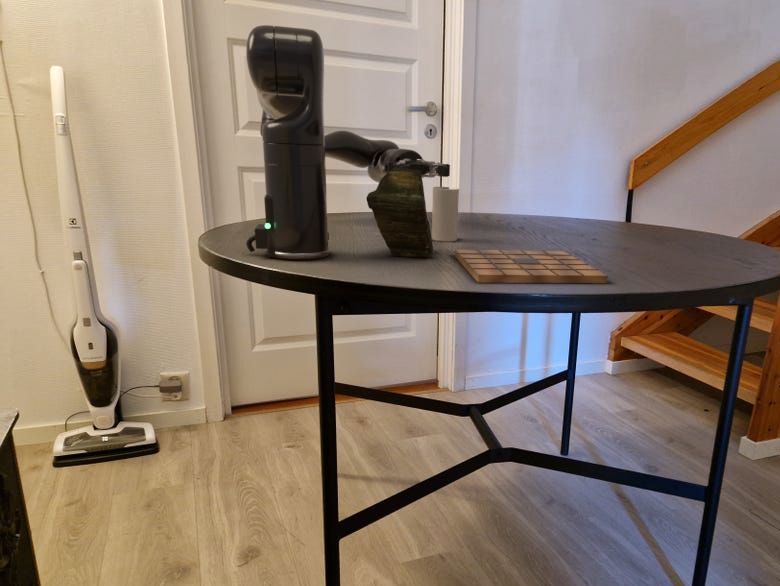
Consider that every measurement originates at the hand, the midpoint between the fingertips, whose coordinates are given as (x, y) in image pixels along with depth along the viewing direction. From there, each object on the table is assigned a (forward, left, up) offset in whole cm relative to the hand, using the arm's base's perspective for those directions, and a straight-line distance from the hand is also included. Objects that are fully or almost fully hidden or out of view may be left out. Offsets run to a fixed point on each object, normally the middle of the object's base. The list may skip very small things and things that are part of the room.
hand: (427, 171), depth 129 cm
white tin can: (+2, -11, -12) cm, 17 cm away
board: (+11, -39, -12) cm, 42 cm away
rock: (-8, -28, -13) cm, 32 cm away
